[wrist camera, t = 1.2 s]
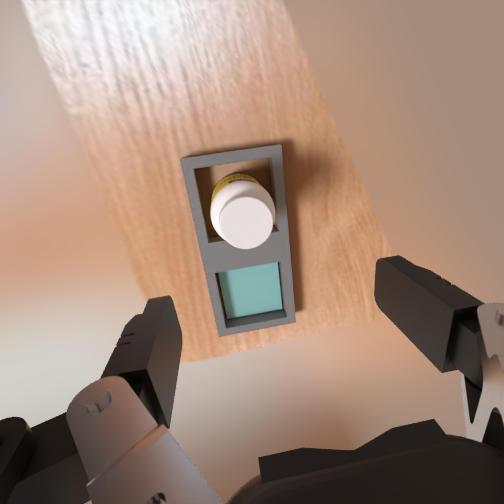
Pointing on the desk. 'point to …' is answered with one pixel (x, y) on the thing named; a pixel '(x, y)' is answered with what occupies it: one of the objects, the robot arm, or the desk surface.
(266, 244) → the frame
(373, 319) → the desk surface
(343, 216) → the desk surface
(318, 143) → the desk surface
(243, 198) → the supplement bottle
